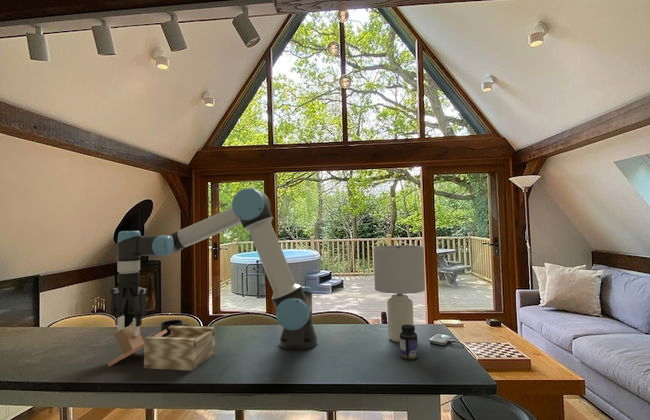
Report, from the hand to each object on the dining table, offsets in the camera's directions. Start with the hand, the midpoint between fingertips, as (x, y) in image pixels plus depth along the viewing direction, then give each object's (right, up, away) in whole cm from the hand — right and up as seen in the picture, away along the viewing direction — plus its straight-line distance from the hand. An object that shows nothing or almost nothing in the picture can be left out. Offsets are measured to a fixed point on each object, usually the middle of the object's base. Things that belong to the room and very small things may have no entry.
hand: (128, 334), depth 133 cm
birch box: (+21, -8, -4) cm, 23 cm away
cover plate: (+5, -5, -1) cm, 7 cm away
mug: (+13, -9, +12) cm, 20 cm away
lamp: (+105, -7, +14) cm, 106 cm away
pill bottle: (+103, -6, -6) cm, 103 cm away
